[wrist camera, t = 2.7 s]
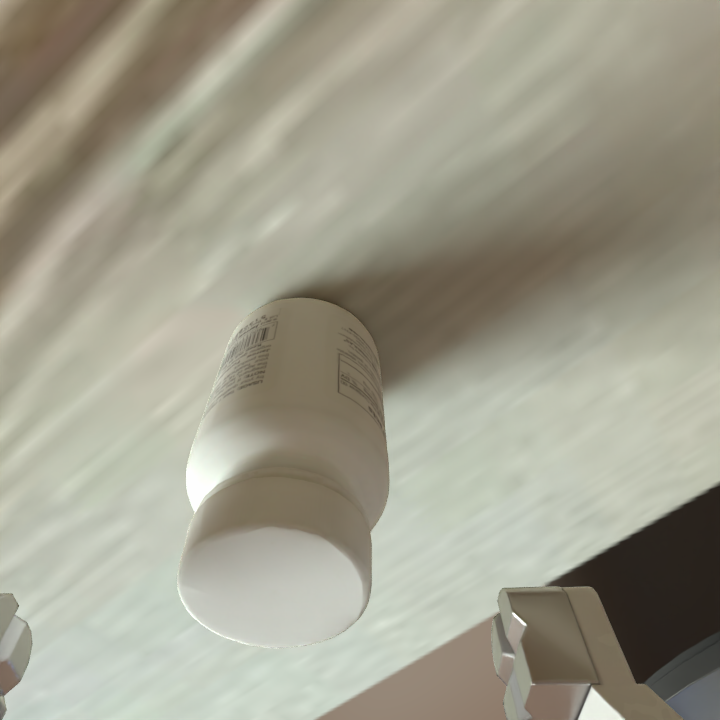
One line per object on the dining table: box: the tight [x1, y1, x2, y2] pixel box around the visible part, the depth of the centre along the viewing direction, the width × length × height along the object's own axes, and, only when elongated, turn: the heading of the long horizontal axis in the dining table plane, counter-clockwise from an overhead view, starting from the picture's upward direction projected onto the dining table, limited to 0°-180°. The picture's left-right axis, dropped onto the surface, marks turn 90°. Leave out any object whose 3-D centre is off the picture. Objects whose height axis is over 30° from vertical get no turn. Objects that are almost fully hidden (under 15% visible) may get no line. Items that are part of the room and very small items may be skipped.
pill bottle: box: [177, 298, 389, 648], centre depth 13 cm, size 4×4×8 cm
